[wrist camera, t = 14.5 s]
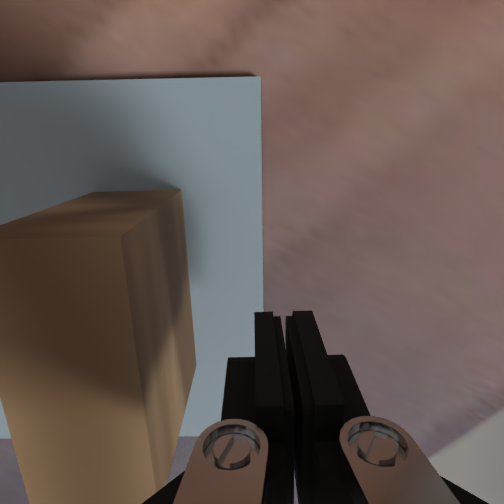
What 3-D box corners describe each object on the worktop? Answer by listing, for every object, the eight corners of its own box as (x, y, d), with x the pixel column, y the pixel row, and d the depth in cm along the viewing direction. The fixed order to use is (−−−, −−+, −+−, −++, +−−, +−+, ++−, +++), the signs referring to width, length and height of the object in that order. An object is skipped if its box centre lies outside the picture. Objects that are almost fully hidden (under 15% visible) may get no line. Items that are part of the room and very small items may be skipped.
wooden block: (181, 189, 14) (120, 236, 8) (196, 365, 17) (159, 515, 10) (87, 192, 15) (-53, 240, 8) (116, 366, 17) (26, 517, 10)
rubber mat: (260, 78, 14) (260, 76, 13) (264, 427, 19) (264, 435, 18) (-166, 87, 14) (-181, 86, 13) (-52, 431, 19) (-60, 439, 18)
